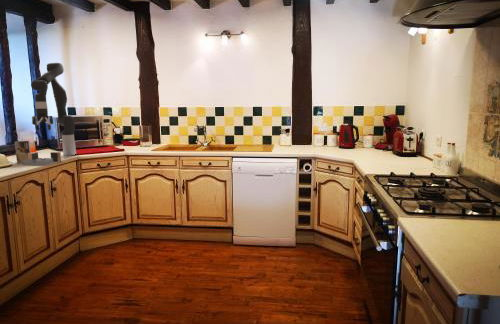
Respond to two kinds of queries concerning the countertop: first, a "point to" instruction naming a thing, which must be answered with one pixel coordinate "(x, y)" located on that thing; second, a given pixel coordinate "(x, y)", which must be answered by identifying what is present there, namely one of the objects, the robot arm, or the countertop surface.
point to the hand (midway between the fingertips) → (43, 130)
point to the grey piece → (37, 160)
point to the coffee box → (22, 150)
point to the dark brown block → (56, 156)
